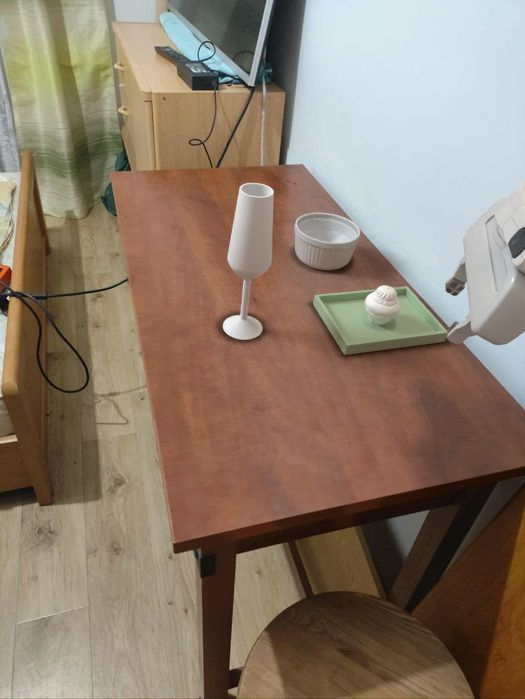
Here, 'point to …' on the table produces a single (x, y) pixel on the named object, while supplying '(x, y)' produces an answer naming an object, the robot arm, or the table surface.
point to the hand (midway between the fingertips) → (450, 313)
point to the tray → (363, 336)
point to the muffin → (382, 305)
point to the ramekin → (325, 240)
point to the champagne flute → (250, 251)
